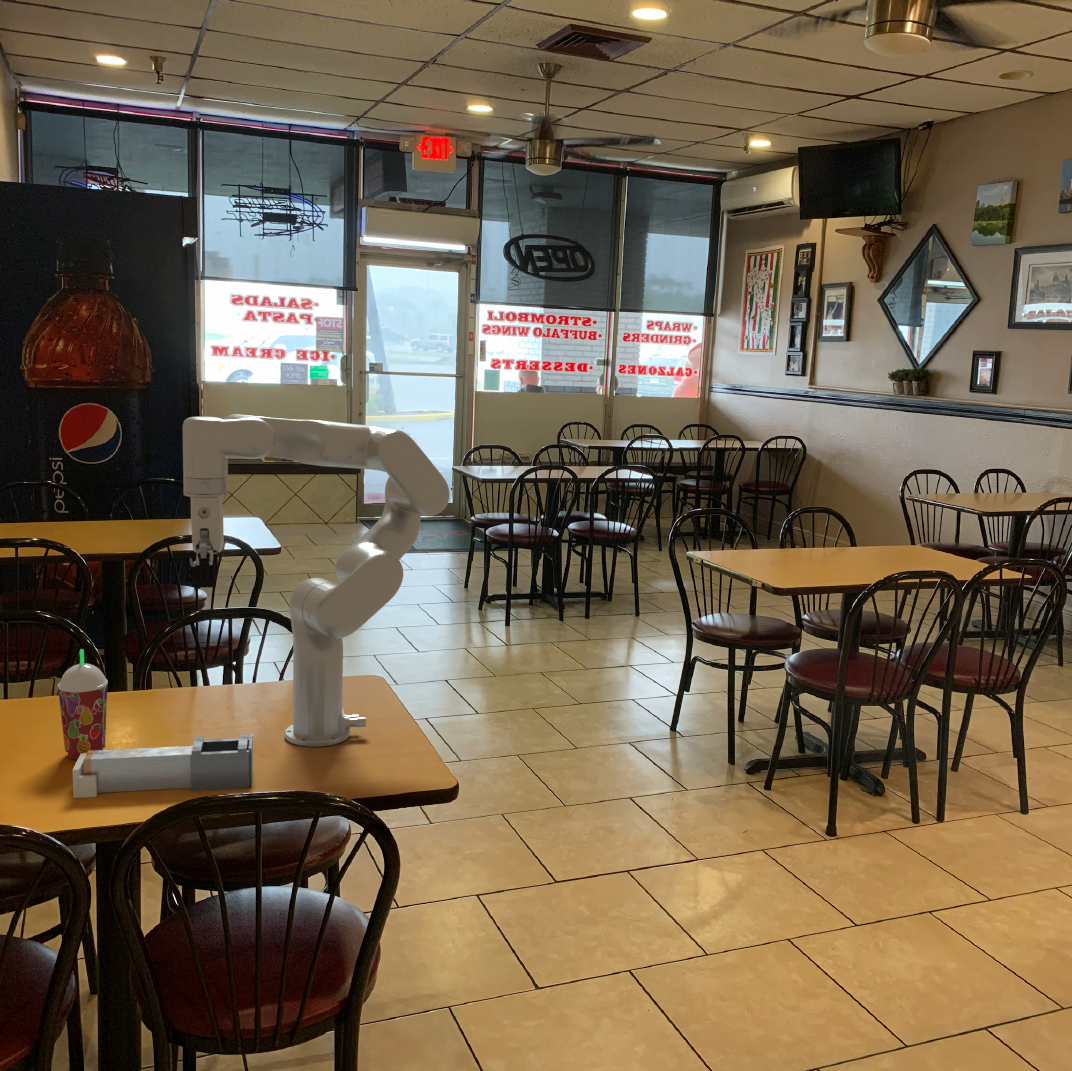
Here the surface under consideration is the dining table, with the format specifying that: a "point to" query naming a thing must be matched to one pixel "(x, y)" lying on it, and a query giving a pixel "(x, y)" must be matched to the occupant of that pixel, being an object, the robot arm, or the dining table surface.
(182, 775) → the grey two-tone block
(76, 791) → the socket
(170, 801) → the dining table surface
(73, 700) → the smoothie
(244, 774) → the sleeve
